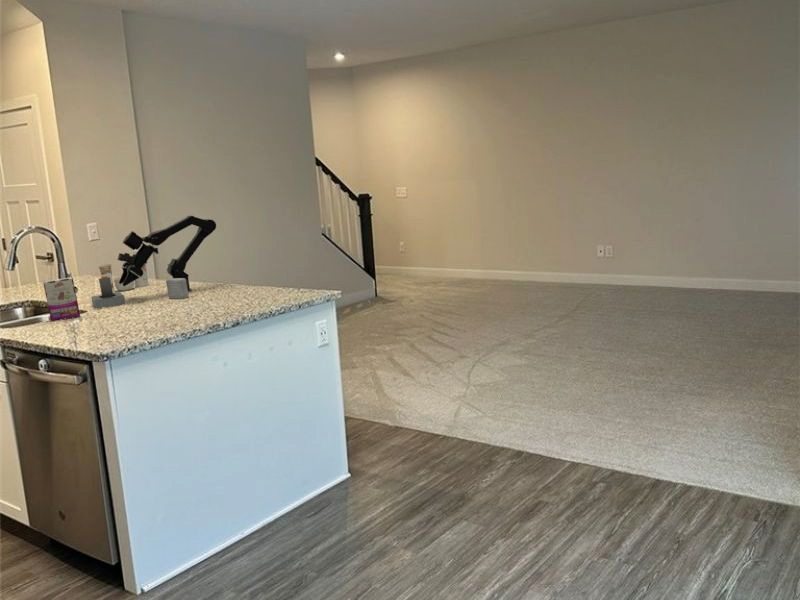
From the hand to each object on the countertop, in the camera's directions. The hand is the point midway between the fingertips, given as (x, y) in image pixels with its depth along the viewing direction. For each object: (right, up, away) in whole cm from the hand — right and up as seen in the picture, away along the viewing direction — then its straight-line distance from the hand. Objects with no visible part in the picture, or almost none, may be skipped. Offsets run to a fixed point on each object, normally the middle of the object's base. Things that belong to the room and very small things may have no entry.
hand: (121, 284), depth 311 cm
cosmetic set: (-12, -2, +36) cm, 39 cm away
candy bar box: (-14, -15, -24) cm, 31 cm away
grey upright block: (-5, -9, -2) cm, 10 cm away
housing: (-5, -9, -2) cm, 10 cm away
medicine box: (+26, -6, 0) cm, 26 cm away
